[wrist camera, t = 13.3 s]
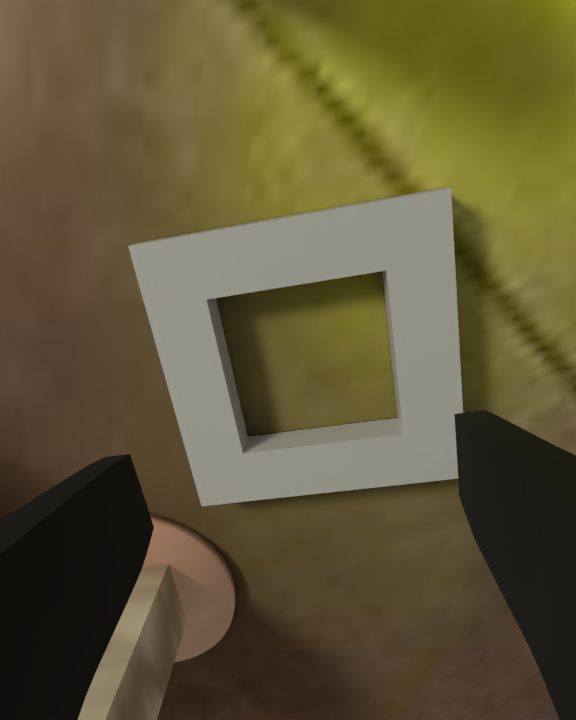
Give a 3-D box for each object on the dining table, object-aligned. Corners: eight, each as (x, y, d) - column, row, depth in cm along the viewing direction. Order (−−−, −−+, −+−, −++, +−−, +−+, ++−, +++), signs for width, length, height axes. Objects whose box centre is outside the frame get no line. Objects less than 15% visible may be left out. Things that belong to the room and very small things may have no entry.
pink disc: (252, 647, 26) (251, 657, 26) (90, 658, 28) (85, 668, 27) (213, 503, 23) (210, 511, 23) (31, 523, 24) (24, 531, 24)
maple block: (187, 621, 25) (131, 802, 18) (118, 626, 26) (36, 804, 18) (168, 563, 24) (99, 733, 16) (96, 570, 24) (-3, 738, 17)
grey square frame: (456, 458, 21) (466, 477, 20) (208, 487, 23) (201, 506, 21) (440, 188, 18) (451, 187, 16) (142, 242, 19) (128, 246, 18)
